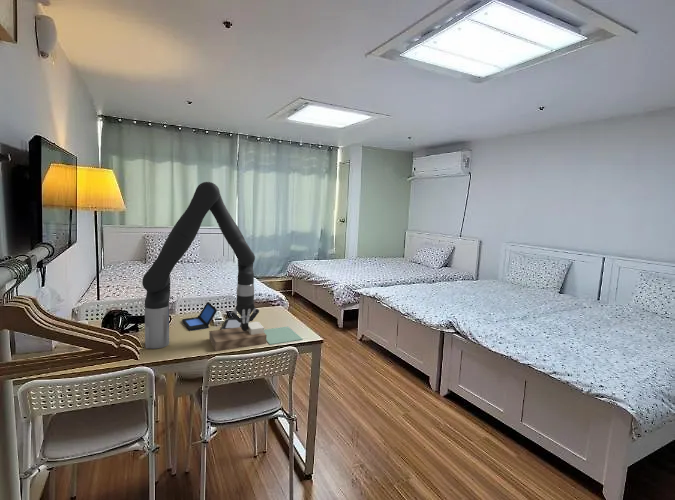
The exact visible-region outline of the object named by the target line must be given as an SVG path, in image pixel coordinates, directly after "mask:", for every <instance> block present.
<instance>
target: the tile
mask: <svg viewBox="0 0 675 500" xmlns="http://www.w3.org/2000/svg"><path fill="white" fill-rule="evenodd" d="M264 330H265V327H264V326H263V325H262V324H261V322H260V321H250V322H249V323H248V330H247V331H248V332H249V333H250V334H251V335H255V334H262V333H264Z"/></svg>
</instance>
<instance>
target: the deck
mask: <svg viewBox="0 0 675 500" xmlns="http://www.w3.org/2000/svg"><path fill="white" fill-rule="evenodd" d="M208 335H209V336H208V339H209V341H210V344H211V345H212V347H213V348H214V350H215V352H220V351H227V350H234V349H240V348H247V347H252V346H259V345H266V344H267V341H266V338H267V335H266V334H265V333H262V334H255V335H251V334H250V333H249V332H248V331H243V330H242V329H241V327H237V328H229V329H222V328H221V329H214V330H213V329H212V330H209V334H208Z"/></svg>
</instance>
